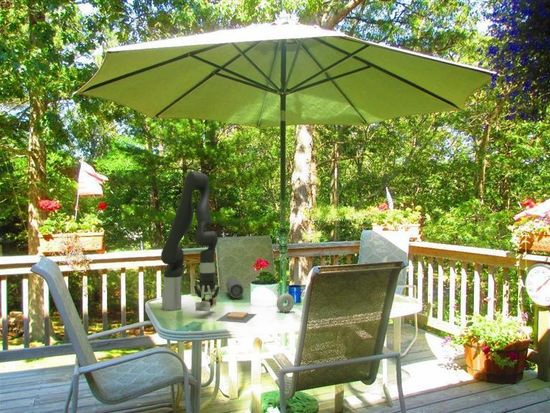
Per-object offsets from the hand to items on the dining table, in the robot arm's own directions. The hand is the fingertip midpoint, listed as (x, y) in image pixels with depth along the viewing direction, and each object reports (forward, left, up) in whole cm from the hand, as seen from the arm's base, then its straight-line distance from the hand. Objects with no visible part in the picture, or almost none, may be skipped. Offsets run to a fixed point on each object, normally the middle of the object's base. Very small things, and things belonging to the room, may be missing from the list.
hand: (207, 305), depth 233 cm
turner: (0, +2, -1) cm, 2 cm away
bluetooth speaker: (-4, +52, -6) cm, 53 cm away
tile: (+15, +5, -4) cm, 17 cm away
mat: (+15, 0, -5) cm, 16 cm away
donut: (+35, +19, -6) cm, 41 cm away
